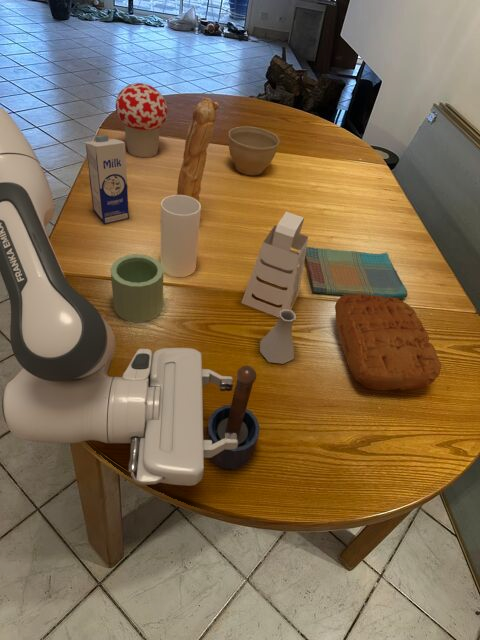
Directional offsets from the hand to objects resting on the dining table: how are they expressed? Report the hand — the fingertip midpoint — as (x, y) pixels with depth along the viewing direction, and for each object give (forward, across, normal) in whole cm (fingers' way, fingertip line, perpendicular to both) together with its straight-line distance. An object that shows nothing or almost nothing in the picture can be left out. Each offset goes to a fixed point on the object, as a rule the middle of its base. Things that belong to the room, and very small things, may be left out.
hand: (234, 410), depth 59 cm
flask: (+11, +21, +11) cm, 26 cm away
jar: (-16, +32, +11) cm, 38 cm away
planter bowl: (+13, +101, +11) cm, 102 cm away
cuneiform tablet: (+32, +21, +11) cm, 40 cm away
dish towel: (+34, +47, +11) cm, 59 cm away
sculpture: (-6, +67, +11) cm, 68 cm away
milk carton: (-26, +66, +11) cm, 72 cm away
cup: (-9, +46, +11) cm, 48 cm away
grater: (+12, +37, +11) cm, 40 cm away
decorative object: (-22, +106, +11) cm, 109 cm away
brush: (+1, 0, +10) cm, 10 cm away
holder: (+1, 0, +11) cm, 11 cm away
